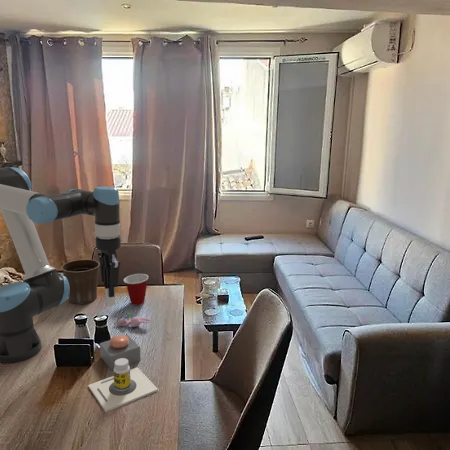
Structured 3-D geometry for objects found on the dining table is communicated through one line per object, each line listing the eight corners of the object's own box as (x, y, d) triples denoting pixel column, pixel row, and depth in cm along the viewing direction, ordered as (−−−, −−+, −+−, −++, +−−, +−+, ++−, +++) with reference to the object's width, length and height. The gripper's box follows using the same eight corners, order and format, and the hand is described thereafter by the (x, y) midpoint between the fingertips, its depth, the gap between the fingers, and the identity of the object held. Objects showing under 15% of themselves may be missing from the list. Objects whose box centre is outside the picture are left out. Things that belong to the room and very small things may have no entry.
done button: (115, 360, 133) (114, 346, 132) (108, 352, 138) (107, 338, 137) (132, 355, 137) (131, 340, 135) (124, 347, 141) (124, 333, 140)
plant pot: (101, 304, 179) (99, 269, 175) (62, 308, 175) (59, 272, 171) (102, 290, 194) (100, 258, 190) (66, 293, 190) (63, 260, 186)
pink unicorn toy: (112, 331, 159) (148, 329, 155) (109, 317, 158) (145, 315, 154) (120, 323, 165) (154, 322, 161) (117, 310, 164) (151, 308, 160)
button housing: (111, 370, 131) (111, 356, 130) (100, 356, 139) (99, 343, 137) (140, 360, 137) (139, 346, 136) (128, 347, 144) (127, 334, 143)
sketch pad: (105, 412, 112) (105, 410, 111) (88, 386, 122) (88, 384, 122) (157, 390, 121) (157, 388, 121) (137, 368, 132) (137, 366, 132)
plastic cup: (123, 299, 185) (122, 274, 182) (147, 296, 188) (147, 272, 185) (125, 309, 175) (124, 283, 172) (150, 306, 178) (150, 280, 175)
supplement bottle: (111, 390, 120) (110, 365, 118) (118, 381, 124) (116, 356, 122) (127, 392, 119) (125, 366, 117) (133, 382, 123) (132, 358, 121)
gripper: (127, 239, 126) (129, 309, 131) (111, 229, 136) (113, 295, 141) (104, 242, 121) (106, 315, 127) (88, 232, 131) (92, 300, 137)
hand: (110, 304), depth 134 cm, fingers closed
